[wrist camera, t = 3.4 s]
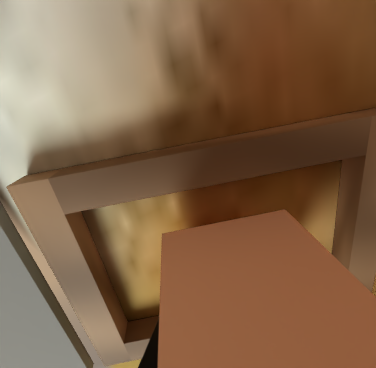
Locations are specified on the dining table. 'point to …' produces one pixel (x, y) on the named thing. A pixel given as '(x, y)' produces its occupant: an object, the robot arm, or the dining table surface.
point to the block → (260, 299)
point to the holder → (186, 180)
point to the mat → (32, 312)
